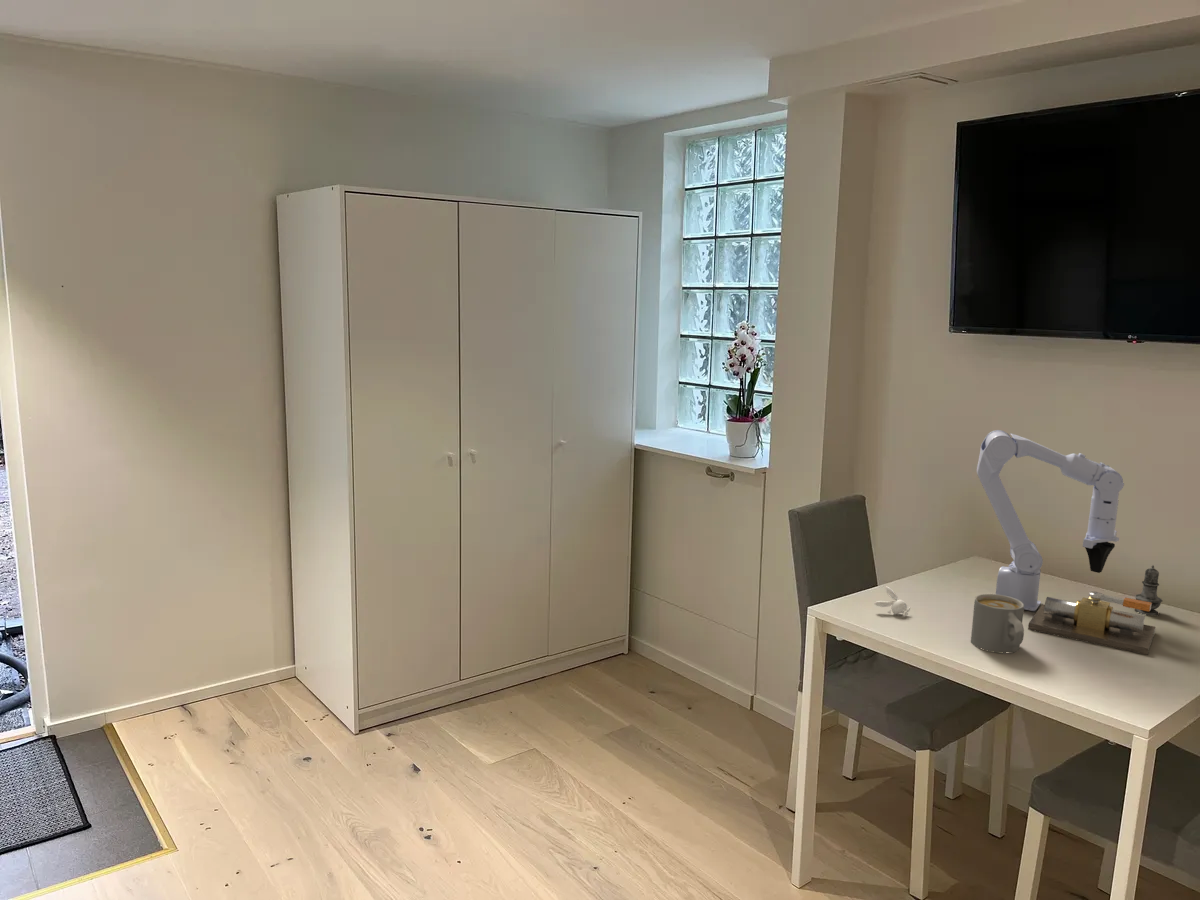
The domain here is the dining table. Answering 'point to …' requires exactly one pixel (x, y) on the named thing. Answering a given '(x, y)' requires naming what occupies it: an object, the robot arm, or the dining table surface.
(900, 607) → the rabbit figurine
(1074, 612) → the valve manifold
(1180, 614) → the dining table surface
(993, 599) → the coffee mug
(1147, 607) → the valve lever
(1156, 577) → the salt shaker
